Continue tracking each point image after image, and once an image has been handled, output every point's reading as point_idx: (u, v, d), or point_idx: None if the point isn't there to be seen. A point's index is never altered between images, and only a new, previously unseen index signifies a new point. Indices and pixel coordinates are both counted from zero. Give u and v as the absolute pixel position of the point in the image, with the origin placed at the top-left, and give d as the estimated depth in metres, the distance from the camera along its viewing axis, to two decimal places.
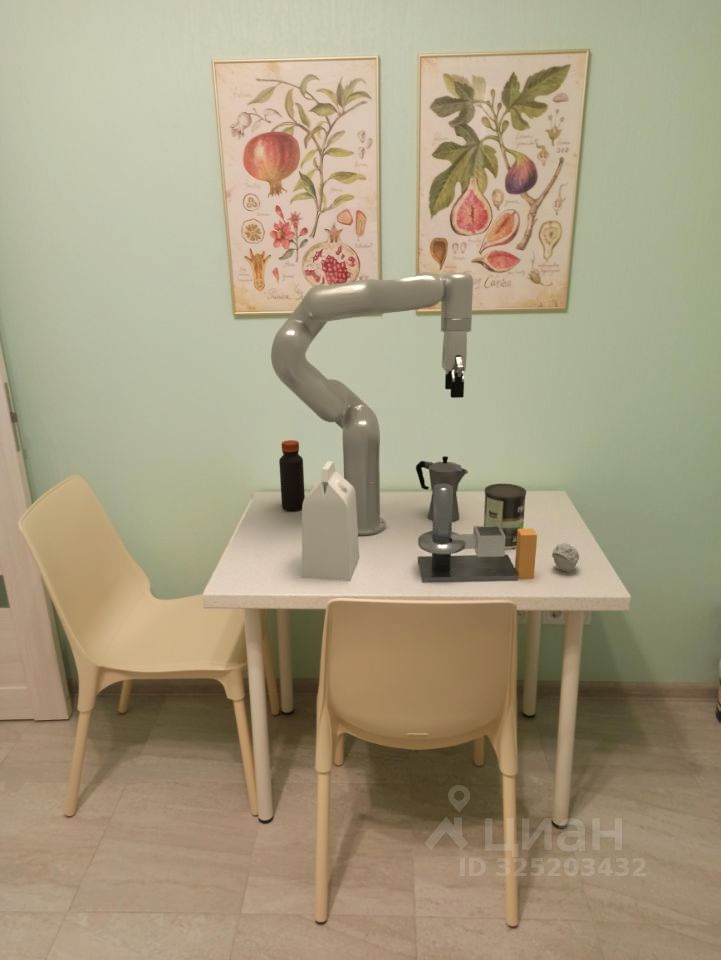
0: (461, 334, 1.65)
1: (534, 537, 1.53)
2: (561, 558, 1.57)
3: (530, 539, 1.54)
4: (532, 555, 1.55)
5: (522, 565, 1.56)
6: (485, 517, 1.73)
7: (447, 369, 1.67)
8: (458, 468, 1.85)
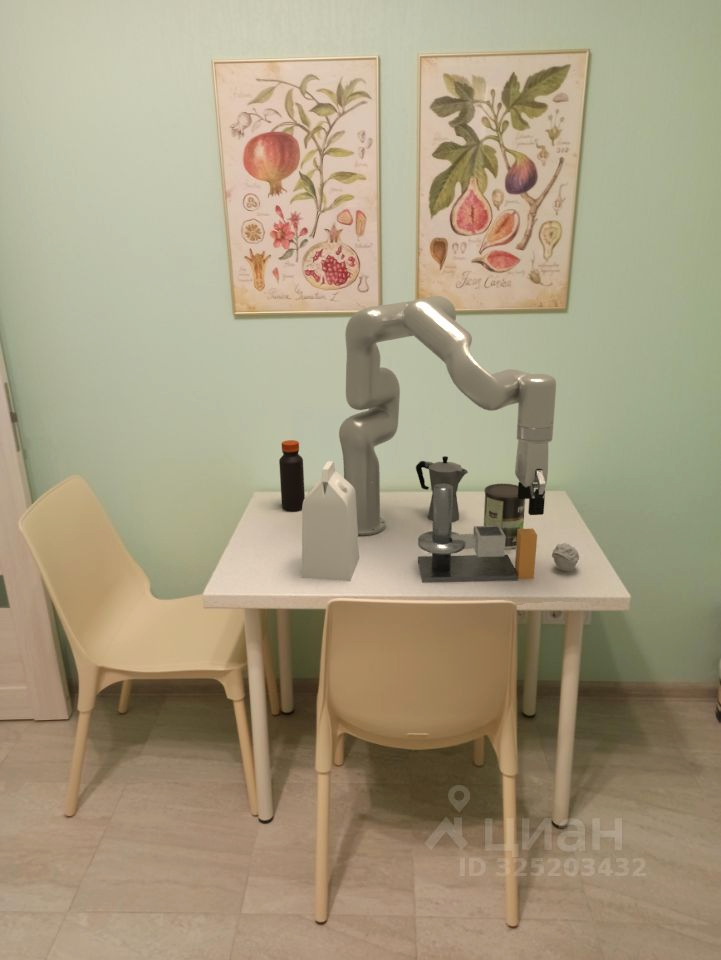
0: (542, 445, 1.43)
1: (534, 537, 1.53)
2: (561, 558, 1.57)
3: (530, 539, 1.54)
4: (532, 555, 1.55)
5: (522, 565, 1.56)
6: (485, 517, 1.73)
7: (525, 484, 1.46)
8: (458, 468, 1.85)
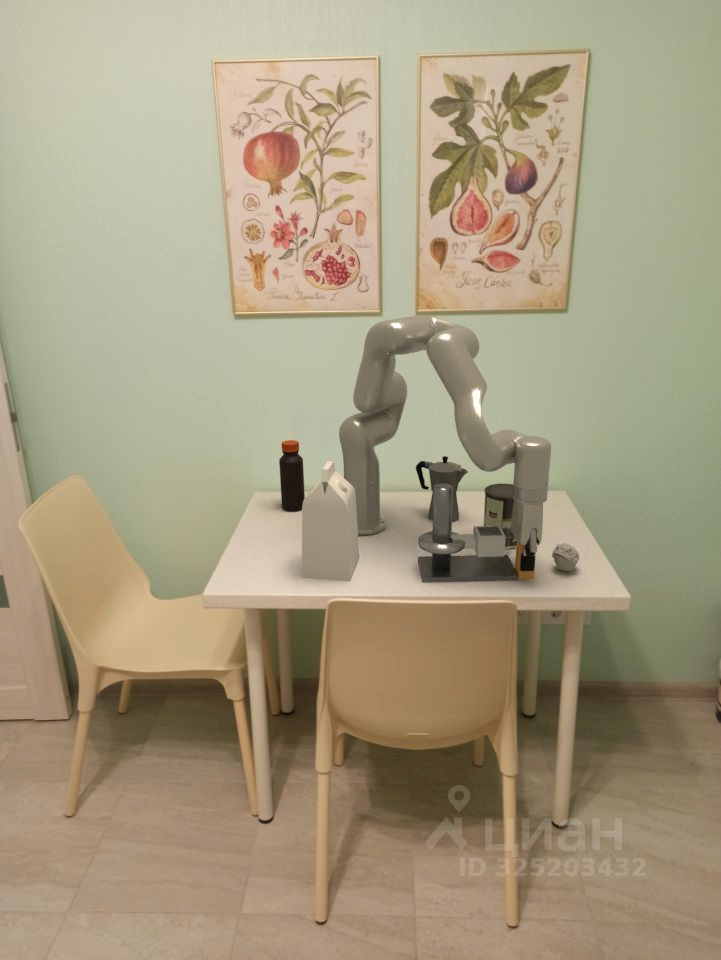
0: (537, 506, 1.48)
1: None
2: (561, 558, 1.57)
3: None
4: None
5: None
6: (485, 517, 1.73)
7: (520, 542, 1.51)
8: (458, 468, 1.85)
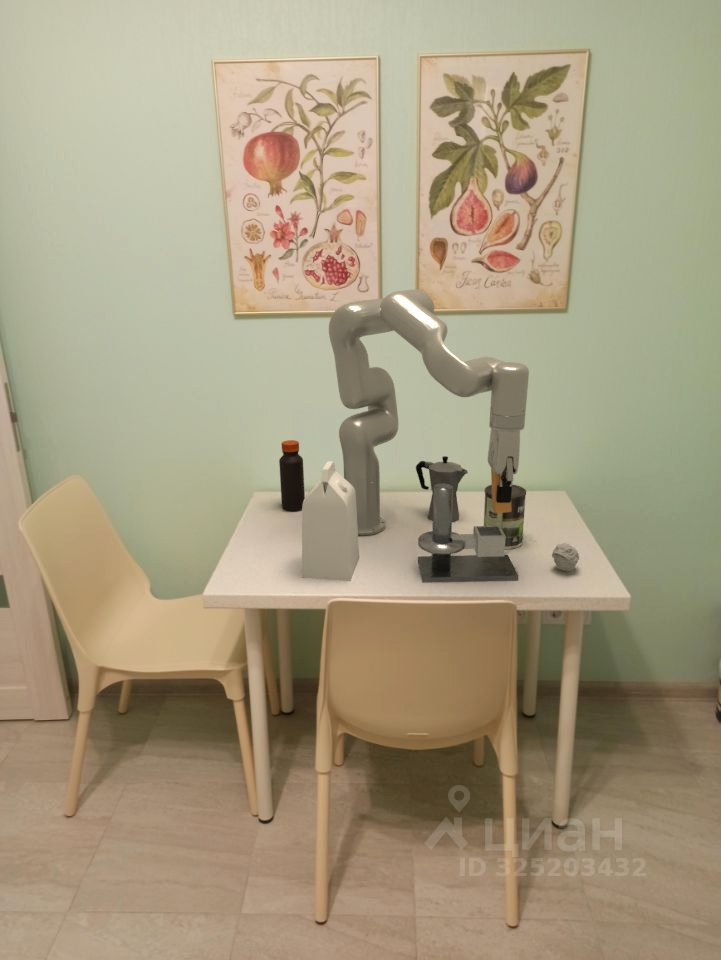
0: (514, 433, 1.45)
1: None
2: (561, 558, 1.57)
3: (504, 471, 1.50)
4: None
5: None
6: (485, 517, 1.73)
7: (497, 471, 1.47)
8: (458, 468, 1.84)
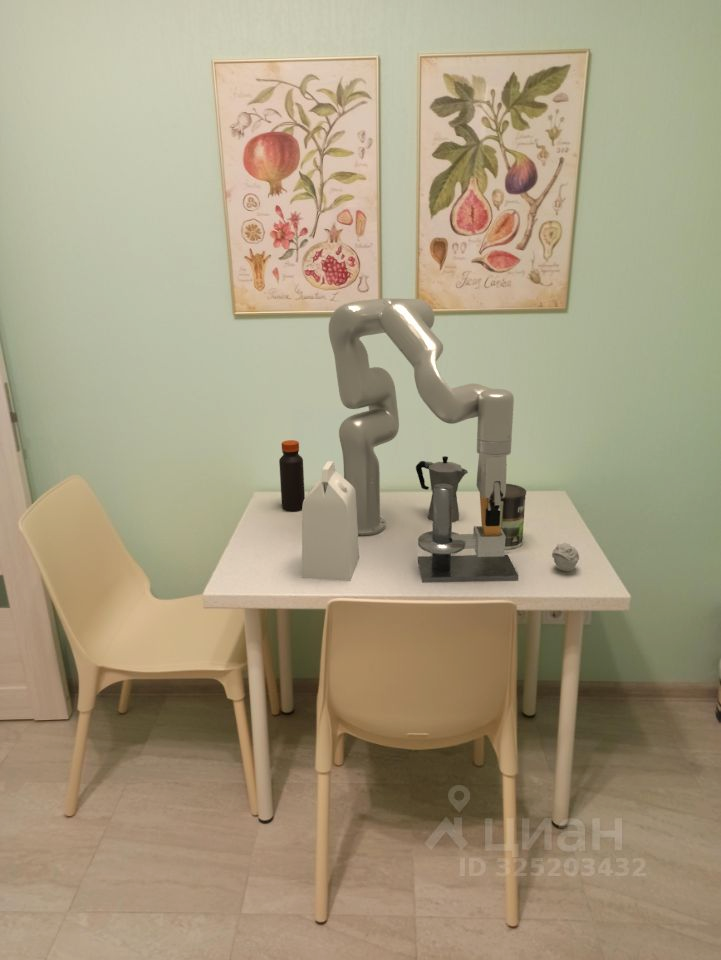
0: (500, 458, 1.47)
1: None
2: (561, 558, 1.57)
3: (492, 495, 1.53)
4: None
5: None
6: None
7: (484, 496, 1.50)
8: (458, 468, 1.85)
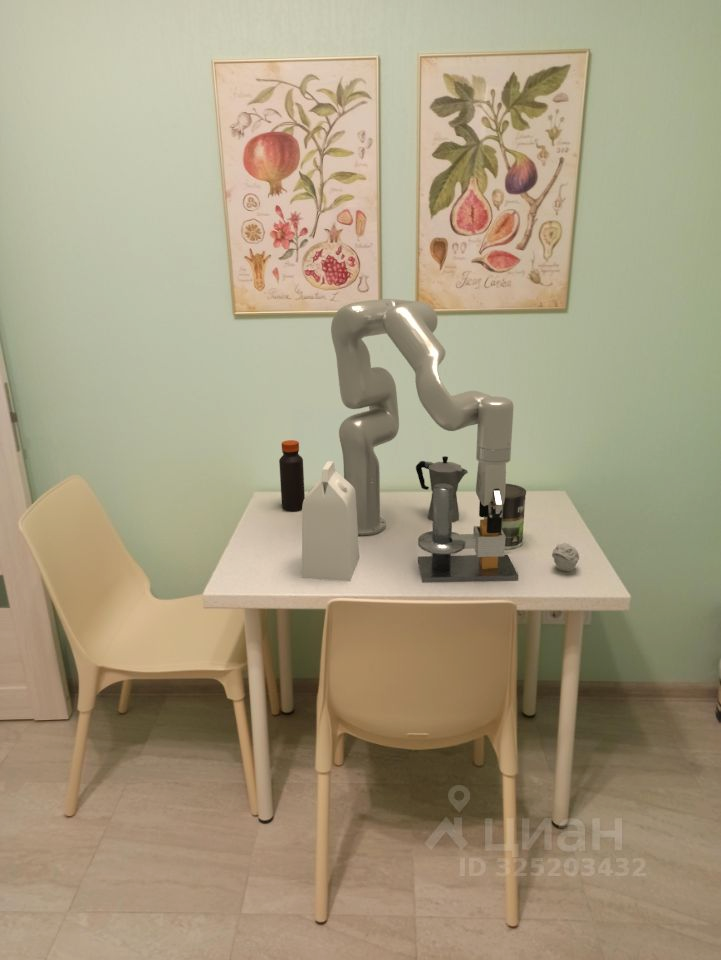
0: (500, 466, 1.48)
1: None
2: (561, 558, 1.57)
3: None
4: None
5: None
6: (485, 517, 1.73)
7: (484, 503, 1.51)
8: (458, 468, 1.84)
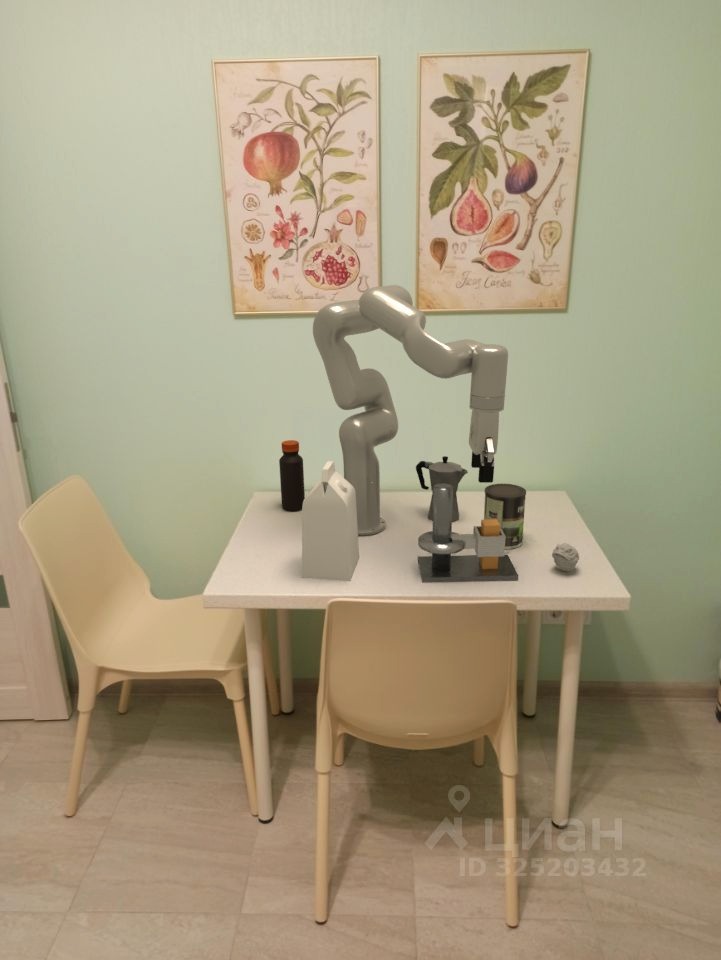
0: (493, 414, 1.47)
1: (497, 527, 1.56)
2: (561, 558, 1.57)
3: (493, 530, 1.56)
4: None
5: None
6: (485, 517, 1.73)
7: (476, 451, 1.50)
8: (458, 468, 1.85)
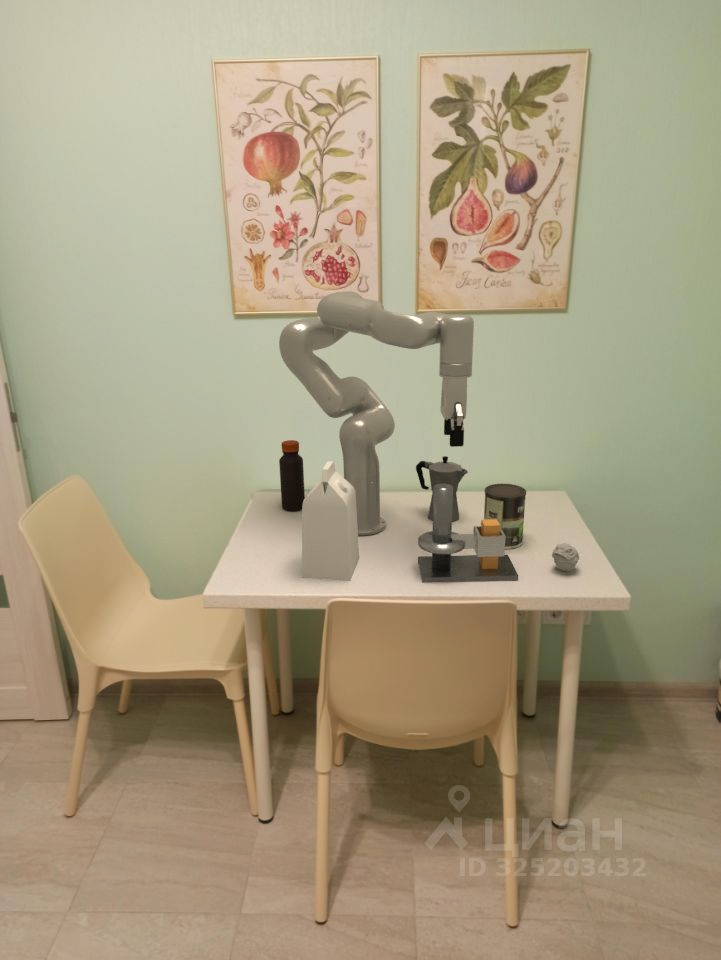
0: (461, 380, 1.55)
1: (497, 527, 1.56)
2: (561, 558, 1.57)
3: (493, 530, 1.56)
4: None
5: None
6: (485, 517, 1.73)
7: (446, 417, 1.57)
8: (458, 468, 1.85)
